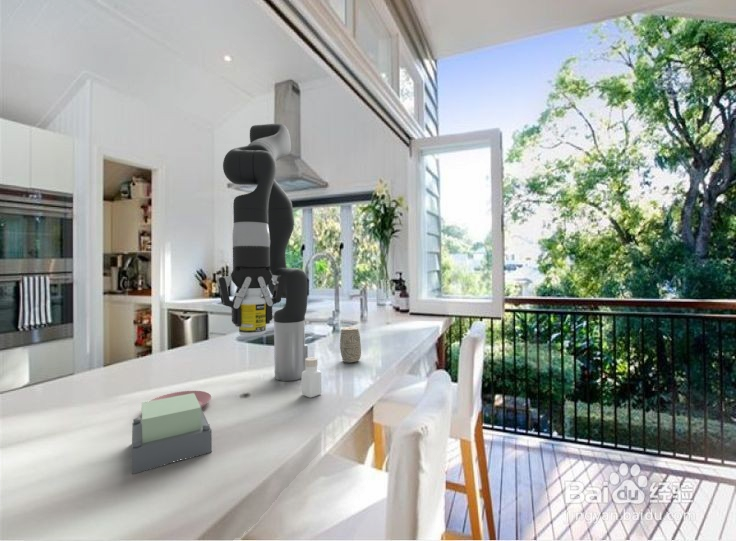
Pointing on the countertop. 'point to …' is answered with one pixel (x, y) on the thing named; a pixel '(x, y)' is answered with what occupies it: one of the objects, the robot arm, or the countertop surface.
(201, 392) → the plate
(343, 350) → the carving
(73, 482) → the countertop surface
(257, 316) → the supplement bottle
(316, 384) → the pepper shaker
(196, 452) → the sponge in grey tray
